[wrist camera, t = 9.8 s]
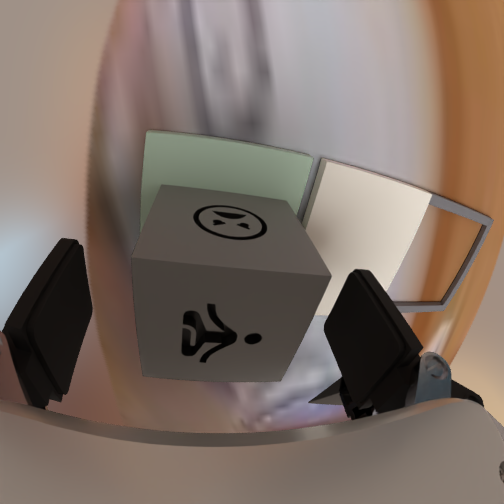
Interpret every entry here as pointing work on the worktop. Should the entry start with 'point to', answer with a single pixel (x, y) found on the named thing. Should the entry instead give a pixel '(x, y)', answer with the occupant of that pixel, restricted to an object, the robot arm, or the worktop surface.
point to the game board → (311, 203)
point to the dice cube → (223, 286)
